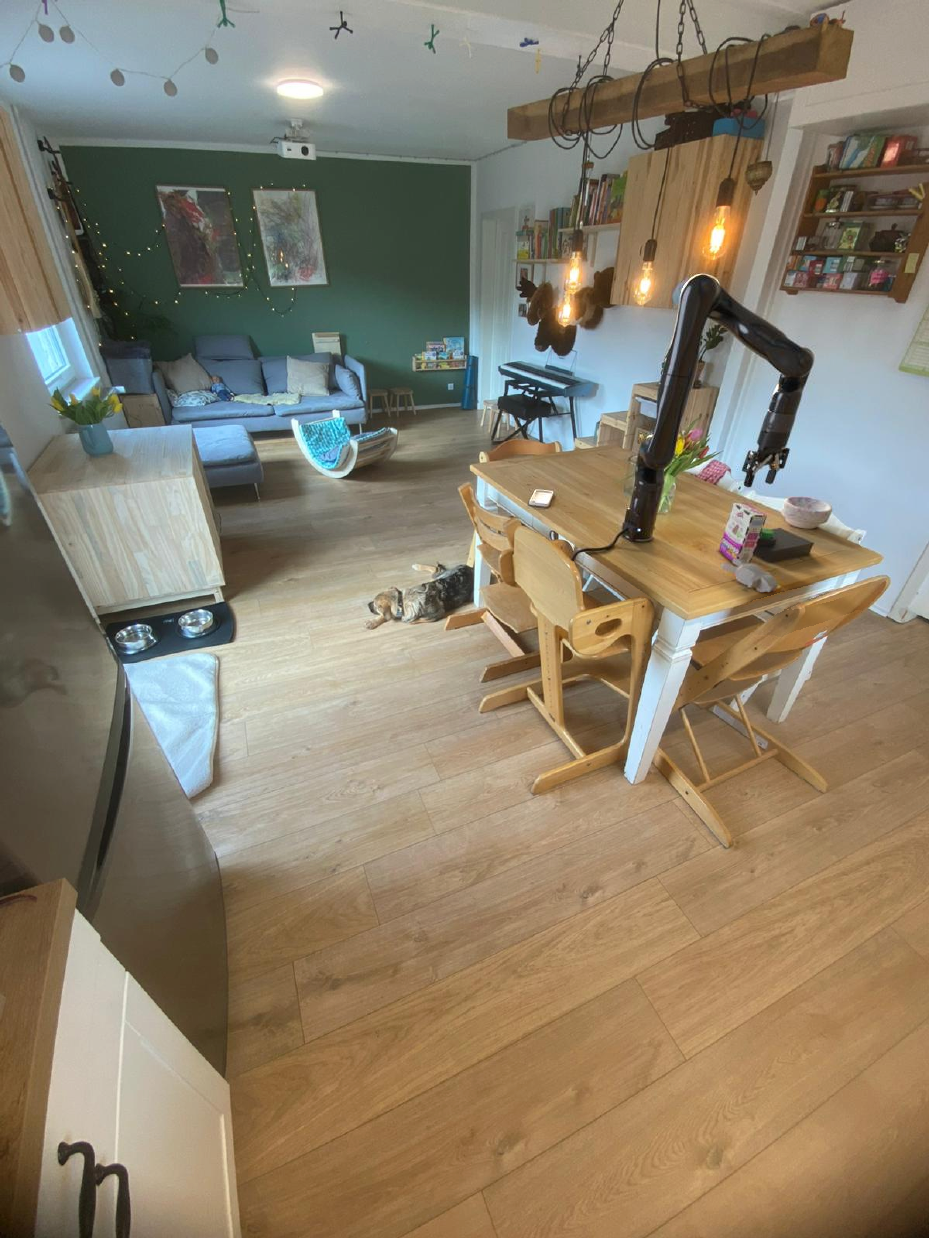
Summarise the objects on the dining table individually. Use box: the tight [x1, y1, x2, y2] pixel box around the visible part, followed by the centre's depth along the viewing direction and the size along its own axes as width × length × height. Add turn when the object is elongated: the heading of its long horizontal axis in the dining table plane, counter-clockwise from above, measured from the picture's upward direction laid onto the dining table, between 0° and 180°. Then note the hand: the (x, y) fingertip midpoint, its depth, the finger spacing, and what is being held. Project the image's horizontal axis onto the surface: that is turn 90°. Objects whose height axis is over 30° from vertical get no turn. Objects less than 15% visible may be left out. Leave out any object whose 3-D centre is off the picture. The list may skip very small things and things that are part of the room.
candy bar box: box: [718, 502, 768, 564], centre depth 164 cm, size 11×5×16 cm, turn 5°
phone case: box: [528, 488, 554, 508], centre depth 209 cm, size 7×1×15 cm
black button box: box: [753, 527, 815, 563], centre depth 173 cm, size 18×13×6 cm
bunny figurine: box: [720, 559, 779, 593], centre depth 154 cm, size 10×5×15 cm
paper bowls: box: [780, 495, 834, 530], centre depth 192 cm, size 15×15×8 cm
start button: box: [760, 528, 774, 539], centre depth 169 cm, size 4×4×2 cm
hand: (757, 485), depth 156 cm, fingers open, 8 cm apart
